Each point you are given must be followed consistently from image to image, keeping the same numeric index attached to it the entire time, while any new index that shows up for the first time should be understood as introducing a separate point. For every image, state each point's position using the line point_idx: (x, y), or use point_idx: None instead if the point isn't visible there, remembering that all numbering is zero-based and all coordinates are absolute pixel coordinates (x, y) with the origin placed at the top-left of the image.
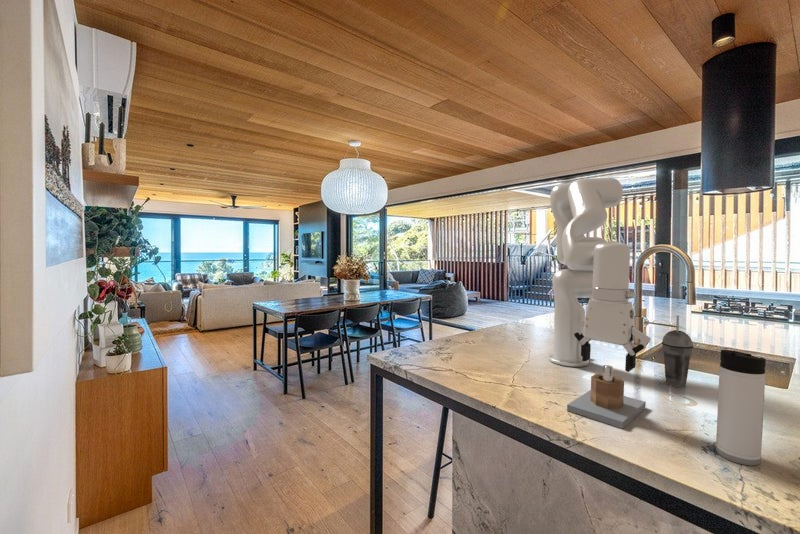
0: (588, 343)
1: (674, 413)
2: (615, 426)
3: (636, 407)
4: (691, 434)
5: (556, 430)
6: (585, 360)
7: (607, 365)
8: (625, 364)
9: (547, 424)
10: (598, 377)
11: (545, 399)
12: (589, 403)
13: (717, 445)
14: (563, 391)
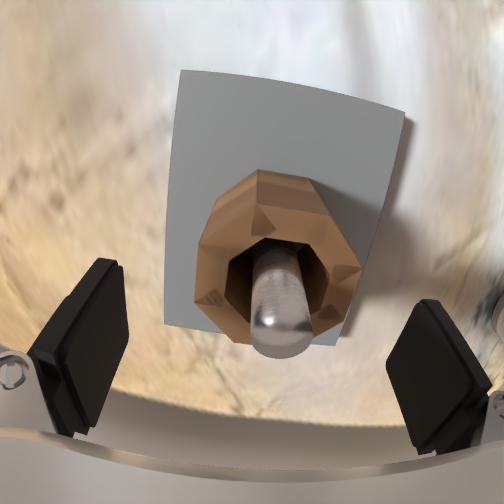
0: (60, 392)
1: (469, 115)
2: None
3: (376, 202)
4: (480, 255)
5: (200, 407)
6: (127, 342)
7: (275, 320)
8: (396, 395)
9: (172, 395)
10: (226, 277)
11: (83, 265)
12: None
13: (499, 325)
14: (86, 143)
